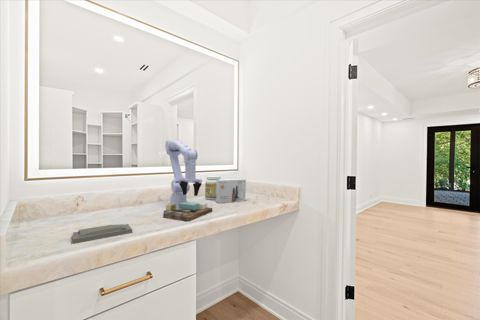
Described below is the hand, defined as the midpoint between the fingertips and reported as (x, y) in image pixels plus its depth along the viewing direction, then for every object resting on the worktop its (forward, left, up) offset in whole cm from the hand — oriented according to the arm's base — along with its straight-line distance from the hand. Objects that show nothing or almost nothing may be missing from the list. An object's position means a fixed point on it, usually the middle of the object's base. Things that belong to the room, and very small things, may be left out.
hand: (190, 195), depth 126 cm
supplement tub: (-9, +40, -10) cm, 43 cm away
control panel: (+3, -5, -10) cm, 11 cm away
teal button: (+3, -5, -6) cm, 8 cm away
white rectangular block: (+3, +3, -7) cm, 9 cm away
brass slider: (-3, -12, -7) cm, 15 cm away
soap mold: (-9, -45, -10) cm, 47 cm away
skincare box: (+8, +36, -10) cm, 38 cm away
